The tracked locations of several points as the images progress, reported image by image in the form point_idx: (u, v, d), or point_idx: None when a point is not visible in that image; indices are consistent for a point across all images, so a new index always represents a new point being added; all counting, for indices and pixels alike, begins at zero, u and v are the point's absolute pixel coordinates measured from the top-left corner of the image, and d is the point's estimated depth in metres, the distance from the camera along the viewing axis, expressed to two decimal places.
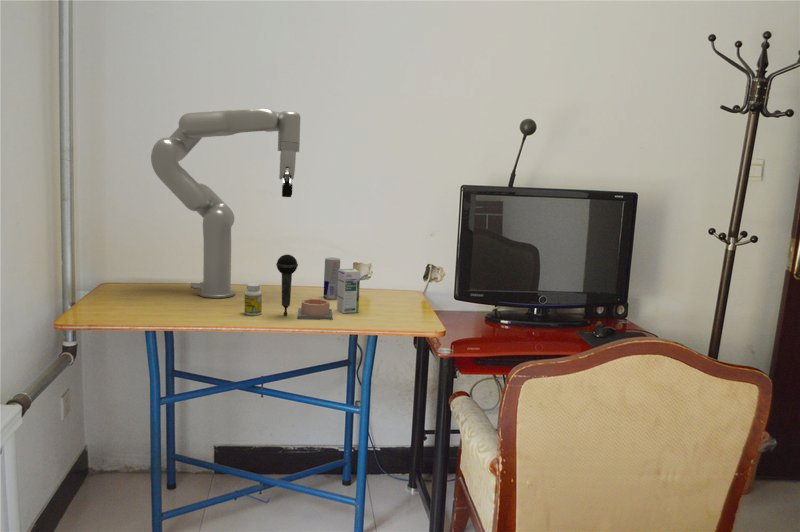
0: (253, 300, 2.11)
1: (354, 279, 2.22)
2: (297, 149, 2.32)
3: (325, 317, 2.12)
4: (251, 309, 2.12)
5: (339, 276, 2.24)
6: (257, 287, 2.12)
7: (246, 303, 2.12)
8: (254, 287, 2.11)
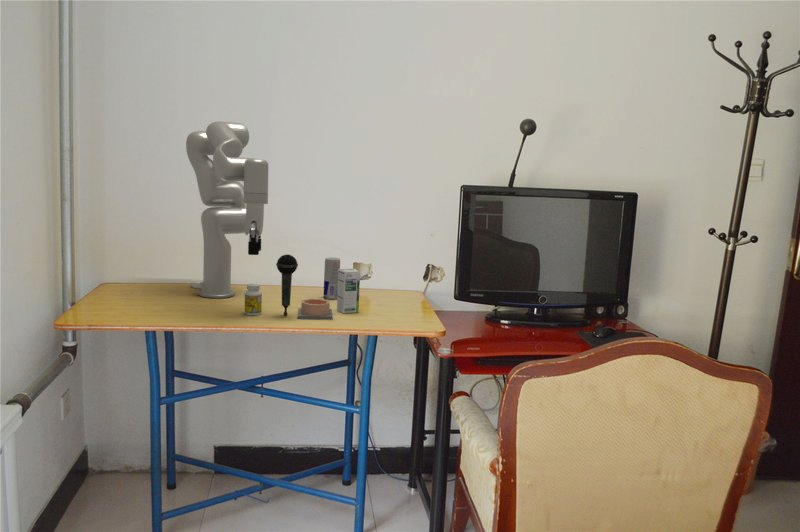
0: (253, 300, 2.11)
1: (354, 279, 2.22)
2: (265, 201, 2.07)
3: (325, 317, 2.12)
4: (251, 309, 2.12)
5: (339, 276, 2.24)
6: (257, 287, 2.12)
7: (246, 303, 2.12)
8: (254, 287, 2.11)
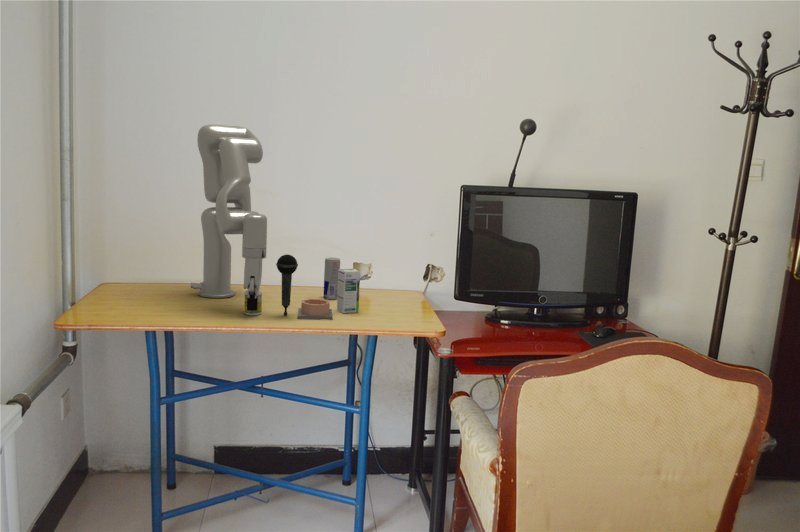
0: None
1: (354, 279, 2.22)
2: (263, 255, 2.10)
3: (325, 317, 2.12)
4: None
5: (339, 276, 2.24)
6: None
7: (246, 303, 2.12)
8: (254, 287, 2.11)
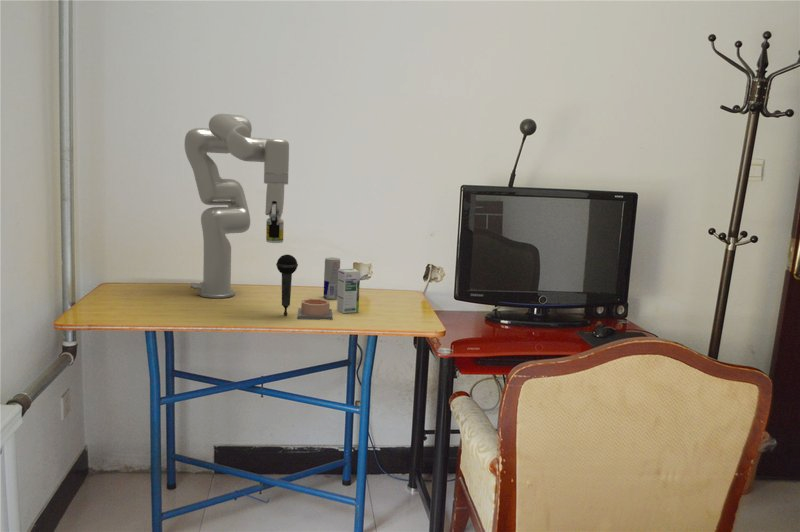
0: None
1: (354, 279, 2.22)
2: (285, 181, 2.07)
3: (325, 317, 2.12)
4: None
5: (339, 276, 2.24)
6: None
7: (268, 230, 2.09)
8: (276, 214, 2.08)
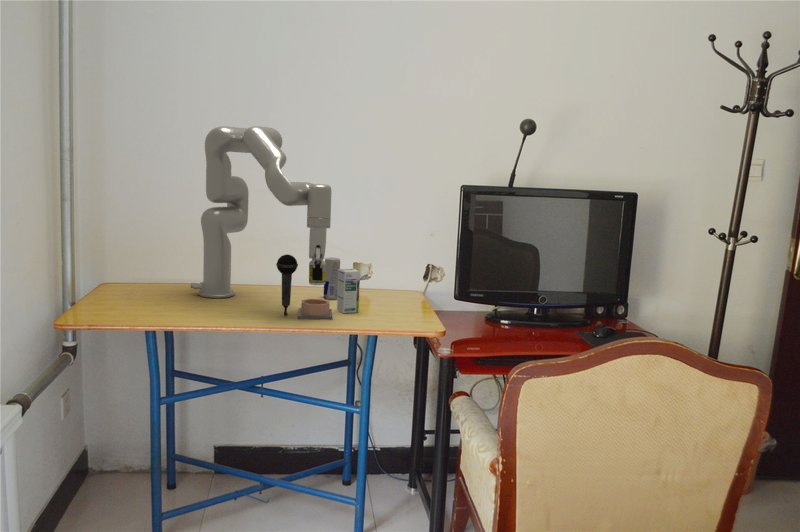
0: None
1: (354, 279, 2.22)
2: (328, 225, 2.11)
3: (325, 317, 2.12)
4: None
5: (339, 276, 2.24)
6: None
7: (311, 273, 2.13)
8: None
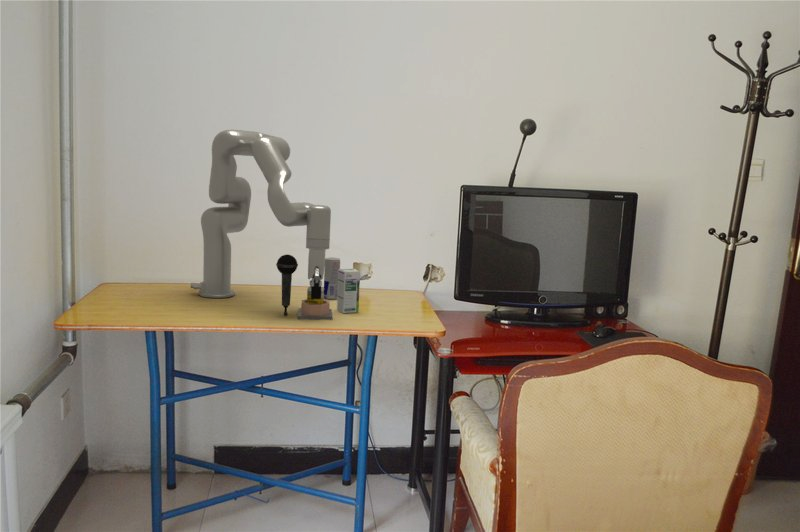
0: None
1: (354, 279, 2.22)
2: (327, 246, 2.12)
3: (325, 317, 2.12)
4: None
5: (339, 276, 2.24)
6: None
7: (309, 299, 2.15)
8: None
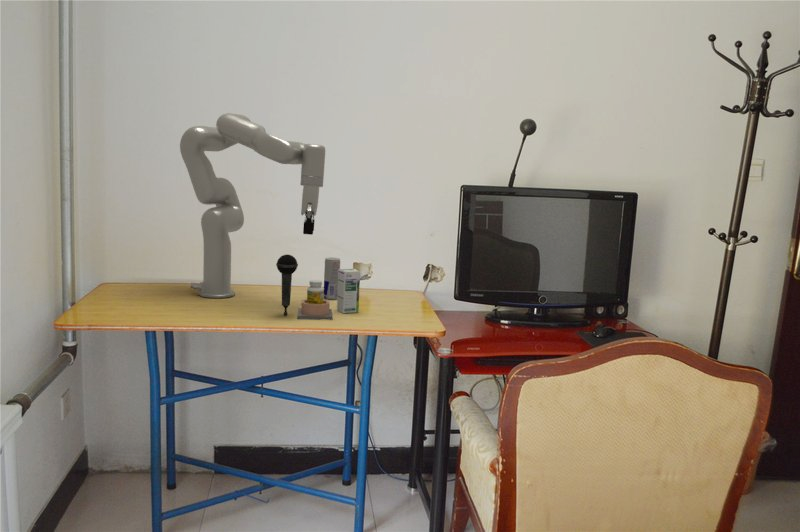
0: (316, 296, 2.14)
1: (354, 279, 2.22)
2: (321, 184, 2.20)
3: (325, 317, 2.12)
4: None
5: (339, 276, 2.24)
6: (320, 283, 2.15)
7: (309, 299, 2.15)
8: (317, 283, 2.14)
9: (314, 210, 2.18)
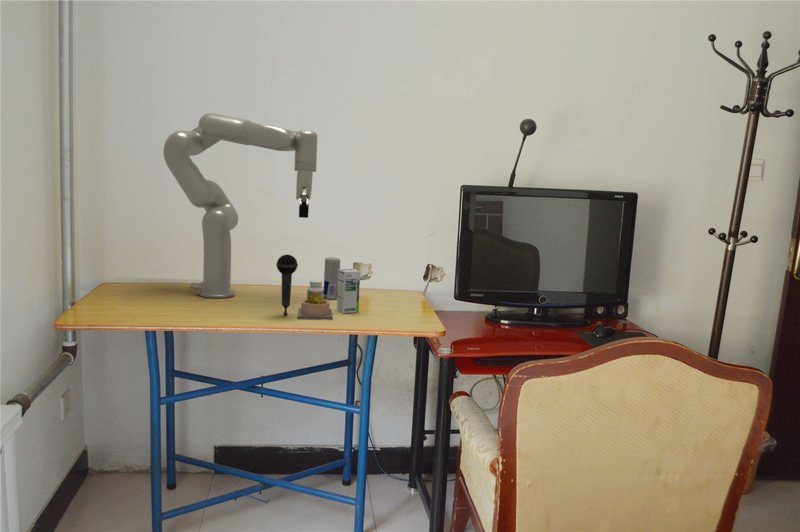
0: (316, 296, 2.14)
1: (354, 279, 2.22)
2: (314, 169, 2.29)
3: (325, 317, 2.12)
4: None
5: (339, 276, 2.24)
6: (320, 283, 2.15)
7: (309, 299, 2.15)
8: (317, 283, 2.14)
9: (309, 194, 2.28)
